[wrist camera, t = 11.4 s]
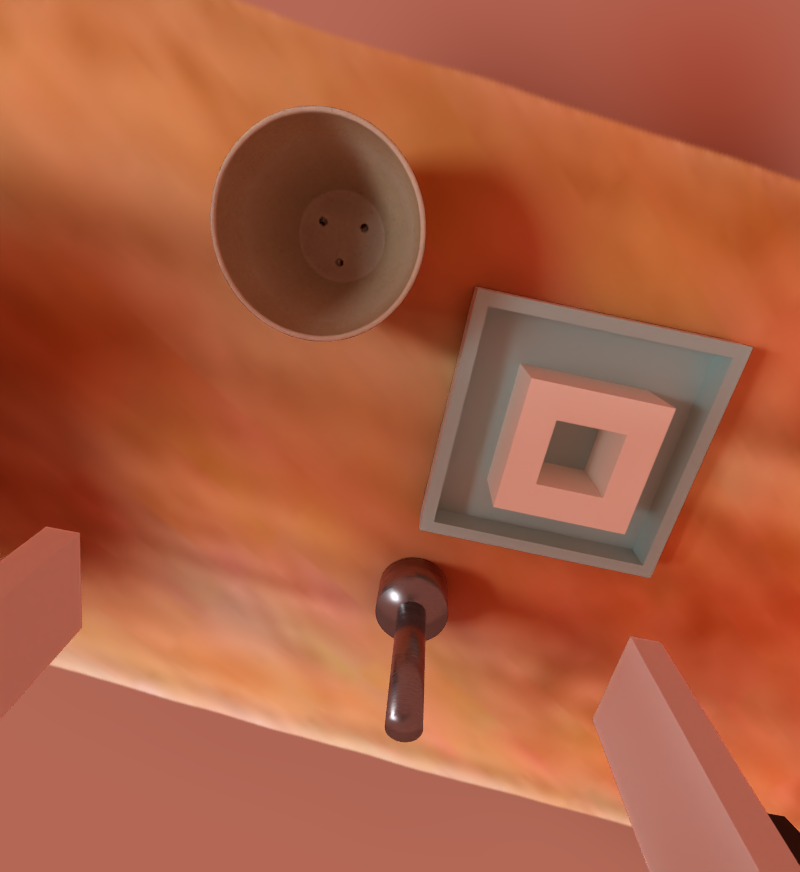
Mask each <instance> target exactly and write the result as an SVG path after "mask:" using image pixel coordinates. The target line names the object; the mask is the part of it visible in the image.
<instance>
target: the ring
mask: <svg viewBox="0 0 800 872" xmlns="http://www.w3.org/2000/svg"><path fill="white" fill-rule="evenodd" d="M675 410H676V408H674V407H673V406H671V405H670V404H668V403H667V402H665V401H664V400H662V399H660V398H659V397H657V396H656V395H654V394H653V393H651V392H650V391H648V390H645V389H641V388H636V387H631V386H626V385H622V384H617V383H612V382H608V381H603V380H598V379H593V378H589V377H584V376H579V375H574V374H570V373H565V372H560V371H556V370H551V369H546V368H541V367H537V366H532V365H527V364H522V363H520V365H519V369H518V372H517V376H516V379H515V383H514V386H513V390H512V393H511V397H510V400H509V404H508V407H507V411H506V414H505V418H504V421H503V425H502V428H501V432H500V435H499V439H498V442H497V446H496V449H495V453H494V456H493V460H492V463H491V467H490V470H489V474H488V477H487V481H488V485H489V490H490V494H491V499H492V503H493V507H496V508H501V509H506V510H510V511H515V512H520V513H525V514H529V515H534V516H539V517H544V518H548V519H553V520H558V521H563V522H567V523H572V524H577V525H582V526H586V527H591V528H596V529H601V530H606V531H610V532H615V533H620V534H625V532H626V530H627V528H628V525H629V523H630V520H631V518H632V515H633V513H634V510H635V508H636V506H637V503H638V501H639V498H640V496H641V493H642V491H643V489H644V486H645V484H646V481H647V479H648V476H649V474H650V471H651V469H652V467H653V464H654V462H655V459H656V457H657V454H658V452H659V449H660V447H661V445H662V442H663V440H664V437H665V435H666V432H667V430H668V427H669V425H670V423H671V420H672V418H673V415H674V413H675ZM557 420H558V421H563V422H568V423H572V424H577V425H582V426H587V427H591V428H596V429H599V431H598V434H597V436H596V439H595V442H594V445H593V447H592V450H591V453H590V456H589V459H588V461H587V464H586V467H585V470H580V469H575V468H570V467H565V466H561V465H556V464H551V463H546V462H543V461H544V458H545V455H546V451H547V448H548V445H549V442H550V439H551V436H552V433H553V430H554V427H555V424H556V421H557Z"/></svg>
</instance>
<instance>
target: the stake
mask: <svg viewBox="0 0 800 872" xmlns="http://www.w3.org/2000/svg"><path fill="white" fill-rule="evenodd" d="M376 618H377V621H378V623H379V625H380V627H381V628H382V629H383V630H384V631H385V632H386V633H387V634H388V635H390V636H391V637H393V638H394V646H393V655H392V664H391V674H390V683H389V692H388V701H387V711H386V720H385V731H386V733H387V734H388V735H389V736H390V737H391V738H392V739H394V740H396V741H400V742H411V741H414V740H416V739H418V738H419V737H420V736H421V734H422V732H423V707H424V671H425V641H426V640H429V639H431V638H433V637H435V636H436V635H438V634H439V633H440V632H441V631H442V630H443V628H444V627H445V625H446V622H447V618H448V600H447V582H446V579H445V576H444V574H443V573H442V571H441V570H440V569H439V568H438V567H437V566H436V565H434V564H433V563H431V562H429V561H427V560H424V559H420V558H405V559H401V560H398V561H396V562H394V563H392V564H391V565H390V566H388V567H387V568H386V570H385V571H384V572H383V574H382V577H381V580H380V586H379V592H378V598H377V604H376Z"/></svg>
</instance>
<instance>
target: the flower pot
mask: <svg viewBox="0 0 800 872" xmlns="http://www.w3.org/2000/svg"><path fill="white" fill-rule="evenodd" d="M320 222H324V224H325V226H324V225H322V224H321V223H320ZM210 224H211V235H212V241H213V246H214V250H215V254H216V257H217V260H218V263H219V266H220V268H221V270H222V272H223V275H224V277H225V279H226V280H227V282H228V284H229V286H230V287H231V289H232V290H233V292H234V293H235V295H236V296H237V297H238V299H239V300H240V301H241V302H242V303H243V304H244V306H245V307H246V308H247V309H248V310H249V311H250V312H251V313H252V314H254V315H255V316H256V317H257V318H259V319H260V320H261V321H263V322H264V323H266V324H267V325H269V326H270V327H272V328H274V329H276V330H278V331H280V332H282V333H284V334H287V335H289V336H292V337H296V338H300V339H304V340H310V341H336V340H343V339H347V338H351V337H354V336H357V335H359V334H362V333H364V332H366V331H368V330H370V329H372V328H373V327H375V326H377V325H378V324H379V323H381V322H382V321H384V320H385V319H386V318H387V317H388V316H389V315H391V314H392V313H393V312H394V311H395V309H396V308H397V307H398V306H399V305H400V304H401V302H402V301H403V300H404V298H405V297H406V295H407V294H408V292H409V291H410V289H411V287H412V286H413V283H414V281H415V279H416V277H417V274H418V272H419V269H420V266H421V263H422V259H423V255H424V250H425V242H426V217H425V209H424V202H423V198H422V194H421V191H420V188H419V185H418V182H417V180H416V177H415V175H414V173H413V171H412V169H411V167H410V165H409V164H408V162H407V160H406V158H405V157H404V156H403V154H402V153H401V151H400V150H399V149H398V147H397V146H396V145H395V144H394V143H393V142H392V141H391V140H390V139H389V138H388V137H387V136H386V135H385V134H384V133H383V132H382V131H381V130H379V129H378V128H377V127H376V126H374V125H373V124H372V123H370V122H368V121H367V120H365V119H363V118H361V117H359V116H357V115H355V114H353V113H350V112H347V111H344V110H341V109H337V108H333V107H327V106H316V105H312V106H299V107H294V108H288V109H284V110H282V111H279V112H276V113H274V114H271V115H270V116H268V117H266V118H264V119H263V120H261V121H259V122H258V123H256V124H255V125H254V126H252V127H251V128H250V129H249V130H248V131H246V132H245V133H244V134H243V136H241V137H240V139H239V140H238V141H237V142H236V143H235V145H234V146H233V147H232V149H231V150H230V152H229V153H228V155H227V156H226V158H225V160H224V162H223V164H222V166H221V167H220V170H219V173H218V176H217V179H216V182H215V186H214V189H213V195H212V201H211V212H210ZM363 224H366V227H364V228H361V226H362V225H363ZM342 260H343V265H342V266H341V264H340V262H341V261H342Z"/></svg>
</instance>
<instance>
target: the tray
mask: <svg viewBox="0 0 800 872" xmlns="http://www.w3.org/2000/svg"><path fill="white" fill-rule="evenodd" d="M752 349H753V347H751V346H748V345H744V344H741V343H738V342H734V341H731V340H727V339H722V338H717V337H712V336H708V335H703V334H698V333H694V332H689V331H684V330H680V329H675V328H670V327H665V326H661V325H656V324H651V323H647V322H642V321H637V320H632V319H628V318H623V317H618V316H614V315H609V314H604V313H600V312H595V311H590V310H585V309H581V308H576V307H571V306H567V305H562V304H557V303H552V302H548V301H543V300H538V299H534V298H529V297H524V296H519V295H515V294H510V293H505V292H501V291H496V290H491V289H487V288H482V287H477V286H475V288H474V292H473V296H472V300H471V304H470V308H469V313H468V317H467V321H466V325H465V329H464V333H463V337H462V342H461V346H460V350H459V354H458V358H457V362H456V366H455V371H454V375H453V379H452V383H451V387H450V391H449V395H448V399H447V404H446V408H445V412H444V416H443V420H442V424H441V428H440V433H439V437H438V441H437V445H436V449H435V453H434V457H433V462H432V466H431V470H430V474H429V478H428V482H427V486H426V491H425V495H424V499H423V503H422V507H421V511H420V525H419V530H422V531H427V532H432V533H437V534H441V535H446V536H451V537H456V538H460V539H465V540H470V541H475V542H479V543H484V544H489V545H494V546H499V547H503V548H508V549H513V550H518V551H522V552H527V553H532V554H537V555H541V556H546V557H551V558H556V559H561V560H565V561H570V562H575V563H580V564H584V565H589V566H594V567H599V568H603V569H608V570H613V571H618V572H623V573H627V574H632V575H637V576H642V577H646V578H651V576H652V573H653V571H654V569H655V567H656V564H657V562H658V560H659V558H660V556H661V553H662V551H663V549H664V547H665V544H666V542H667V540H668V538H669V535H670V533H671V531H672V529H673V526H674V524H675V522H676V520H677V517H678V515H679V513H680V511H681V508H682V506H683V504H684V502H685V499H686V497H687V495H688V493H689V490H690V488H691V486H692V484H693V481H694V479H695V477H696V475H697V472H698V470H699V468H700V466H701V463H702V461H703V459H704V457H705V454H706V452H707V450H708V448H709V445H710V443H711V441H712V439H713V437H714V434H715V432H716V430H717V428H718V425H719V423H720V421H721V419H722V416H723V414H724V412H725V410H726V407H727V405H728V403H729V401H730V398H731V396H732V394H733V392H734V389H735V387H736V385H737V383H738V380H739V378H740V376H741V374H742V371H743V369H744V367H745V365H746V362H747V360H748V358H749V356H750V353H751V351H752ZM520 363H522V364H527V365H532V366H537V367H541V368H546V369H551V370H556V371H560V372H565V373H570V374H574V375H579V376H584V377H589V378H593V379H598V380H603V381H608V382H612V383H617V384H622V385H626V386H631V387H636V388H641V389H645V390H648V391H650V392H651V393H653V394H654V395H656V396H657V397H659V398H660V399H662V400H664V401H665V402H667V403H668V404H670V405H671V406H673V407H674V408H676V410H675V413H674V415H673V418H672V420H671V423H670V425H669V427H668V430H667V432H666V435H665V437H664V440H663V442H662V445H661V447H660V449H659V452H658V454H657V457H656V459H655V462H654V464H653V467H652V469H651V471H650V474H649V476H648V479H647V481H646V484H645V486H644V489H643V491H642V493H641V496H640V498H639V501H638V503H637V506H636V508H635V510H634V513H633V515H632V518H631V520H630V523H629V525H628V528H627V530H626V532H625V534H620V533H615V532H610V531H606V530H601V529H596V528H591V527H586V526H582V525H577V524H572V523H567V522H563V521H558V520H553V519H548V518H544V517H539V516H534V515H529V514H525V513H520V512H515V511H510V510H506V509H501V508H496V507H493V503H492V499H491V494H490V490H489V485H488V481H487V477H488V474H489V470H490V467H491V463H492V460H493V456H494V453H495V449H496V446H497V442H498V439H499V435H500V432H501V428H502V425H503V421H504V418H505V414H506V411H507V407H508V404H509V400H510V397H511V393H512V390H513V386H514V383H515V379H516V376H517V372H518V369H519V365H520ZM598 431H599V429H596V428H591V427H587V426H582V425H577V424H572V423H568V422H563V421H558V420H557V421H556V424H555V427H554V430H553V433H552V436H551V439H550V442H549V445H548V448H547V451H546V455H545V458H544V461H543V462H546V463H551V464H556V465H561V466H565V467H570V468H575V469H580V470H585V467H586V464H587V461H588V459H589V456H590V453H591V450H592V447H593V445H594V442H595V439H596V436H597V434H598Z"/></svg>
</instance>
